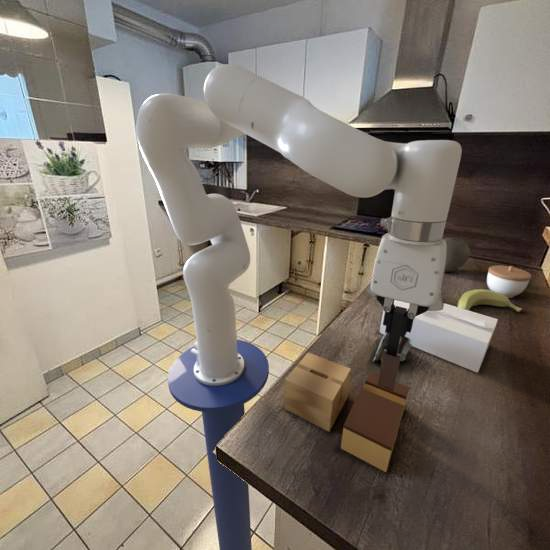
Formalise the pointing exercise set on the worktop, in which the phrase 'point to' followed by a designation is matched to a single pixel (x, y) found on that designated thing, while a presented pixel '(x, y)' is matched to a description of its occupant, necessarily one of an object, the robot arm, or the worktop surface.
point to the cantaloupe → (455, 253)
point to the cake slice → (387, 390)
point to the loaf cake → (372, 428)
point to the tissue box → (451, 334)
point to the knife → (392, 351)
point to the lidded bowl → (507, 280)
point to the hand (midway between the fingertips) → (396, 331)
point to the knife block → (317, 390)
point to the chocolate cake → (403, 347)
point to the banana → (484, 299)
